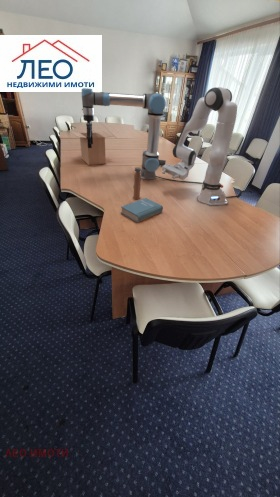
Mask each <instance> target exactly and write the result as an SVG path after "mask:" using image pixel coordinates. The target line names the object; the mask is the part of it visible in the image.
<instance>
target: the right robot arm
mask: <svg viewBox="0 0 280 497" xmlns="http://www.w3.org/2000/svg"><path fill="white" fill-rule="evenodd" d="M212 111H214V112H217V119H216V125H215V128H214V134H213V139H212V142H211V147H210V151H209V155H208V163H207V168H206V171H205V175H204V180H203V181H202V183H203V184H201V190H200V193H199V195H198V196H197V200H198V201H199V202H200V203H202V204H206V205H208V206H223V205H228V199H229V198H239V197H241V196H243V193H244V192H249V193H251V194H252V193H253V191H251V190H249V189H248V190H247V189H246V190H241V191H240V194H239V195H231V196H227V195H226V193H225V191H223V190H222V189H223V188H224V185H223V184H222V183H220V182H221V178H222V175H223V171H224V168H225V164H226V160H227V157H228V153H229V149H230V146H231V145H230V144H231V140H232V137H233V134H234V129H235V125H236V120H237V116H238V105H237V103H236V102H234V101H233V93H232V91H231V90H230V89H228V88H225V87H222V86H221V87H219V86H218V87H217V86H216V87H212V88H210V89H209V90H207V91H206V93H205V95H204V96H203V97H200V98H199V99H198V100H197V101H196V104H195V106H194V110H193V112H192V115H191V117H190V119H189V121H186V122H185V124H184V125H183V127H182V129H181V132H180V134H179V136H178V139H177V141H176V143H175V145H174V146H173V148H172V155H173V157H174V158H177V159H179V160H181V161H179V162H178V163H176V164H174V165H173V164H170V163H167V164H166V163H165V165H164V166H161V171H162V173H161V174H162V175H166V174H168V175H171V177H172V178H171V179H172V180H176V179H179V180H180V181H185V179H187V178H188V177H189V172H190V170H192V169H193V168H194V166H195V163H196V162H195V161H196V160H197V153H196V152H197V151H196V150H195V149H193V148H190V147H188V146H186V145H185V144H184V143H185V141H186V139H187V137H188V135H189V134H190V133H191V132H199V131H203V130H204V129H205V128H206V126H207V123H208V121H209V118H210V115H211V112H212Z"/></svg>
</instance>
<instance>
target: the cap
mask: <svg viewBox="0 0 280 497" xmlns="http://www.w3.org/2000/svg"><path fill="white" fill-rule="evenodd" d="M141 169H142V167H135V168H134V171H135V172H136V171H137V172H141Z"/></svg>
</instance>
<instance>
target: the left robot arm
mask: <svg viewBox="0 0 280 497" xmlns="http://www.w3.org/2000/svg"><path fill="white" fill-rule="evenodd" d="M81 105H82V108H81V111H82V113H83V115H82V118H83V122H86V123H85V126H86V131H87V137H86V139H87V140H88V148H92V144H93V136H92V135H93V132H92V130H93V123H92V122H94V121H95V115H94V113H95V111H94V106H100V107H101V106H102V107H110V106H121V107H122V106H123V107H137V108H142V109H143V110H147V116H148V117H149V118H148V119H149V120H148V131H147V132H148V134H147V147H146V148H147V149H146V150H143V151H142V159H141V160H142V161H141V171H140V173H141V180H146V181H154V180H156V178H158V179H161V180H166V181H171V182H177V183H179V182H180V183H189V184H201V185H202V184H203V182H199V181H188V180H187V181H186V180H180V179H179V180H178V179H172V178H166V177H162V176H157V174H156V171H158V169H159V167H160V165H159V161H158V160H160V159H159V158H160V153H159V152H158V149H159V141H160V130H161V121H162V118H163V117H164V111H165V109H166V99H165V97H164V95H163V94H161V93H159V92H152V93H143V94H132V93H131V94H130V93H120V92H119V93H118V92H117V93H116V92H104V91H100V92H94V91H93V89H92V88H88V87H87V88H86V87H82V88H81Z"/></svg>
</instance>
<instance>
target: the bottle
mask: <svg viewBox="0 0 280 497" xmlns="http://www.w3.org/2000/svg"><path fill="white" fill-rule="evenodd" d="M140 172H141V171H140ZM140 172H137V171H135V172H134V174H133V175H134V177H133V197H132V198H133V199H134V200H140V197H141V182H142V179H141V173H140Z"/></svg>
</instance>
